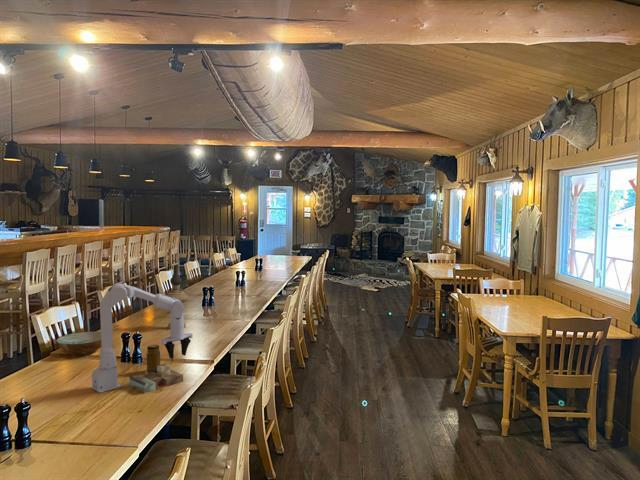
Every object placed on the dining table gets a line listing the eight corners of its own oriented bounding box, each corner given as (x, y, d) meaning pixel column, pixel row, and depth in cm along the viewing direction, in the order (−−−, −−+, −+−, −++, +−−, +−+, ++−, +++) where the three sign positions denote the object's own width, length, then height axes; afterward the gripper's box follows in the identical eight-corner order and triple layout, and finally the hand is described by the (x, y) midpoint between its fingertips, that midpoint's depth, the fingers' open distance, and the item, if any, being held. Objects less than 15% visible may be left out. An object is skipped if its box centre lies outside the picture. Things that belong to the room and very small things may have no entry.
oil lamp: (184, 330, 299) (183, 266, 297) (160, 330, 300) (159, 266, 297) (191, 324, 314) (190, 264, 312) (169, 324, 315) (167, 264, 312)
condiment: (148, 368, 228) (147, 344, 227) (166, 368, 228) (166, 343, 228) (144, 374, 220) (143, 348, 220) (163, 373, 221) (162, 348, 220)
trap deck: (144, 393, 197) (144, 383, 197) (129, 385, 206) (129, 375, 206) (183, 381, 211) (182, 372, 211) (167, 374, 220) (167, 365, 219)
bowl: (88, 361, 239) (88, 345, 239) (44, 357, 244) (44, 342, 244) (119, 346, 264) (118, 332, 263) (79, 344, 269) (78, 330, 268)
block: (162, 376, 208) (161, 367, 208) (157, 374, 211) (157, 365, 211) (170, 374, 211) (170, 365, 211) (165, 372, 214) (165, 363, 213)
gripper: (167, 331, 207) (167, 362, 208) (196, 325, 218) (196, 354, 219) (158, 328, 212) (159, 358, 212) (187, 322, 222) (187, 351, 223)
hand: (177, 356), depth 216 cm, fingers open, 6 cm apart
